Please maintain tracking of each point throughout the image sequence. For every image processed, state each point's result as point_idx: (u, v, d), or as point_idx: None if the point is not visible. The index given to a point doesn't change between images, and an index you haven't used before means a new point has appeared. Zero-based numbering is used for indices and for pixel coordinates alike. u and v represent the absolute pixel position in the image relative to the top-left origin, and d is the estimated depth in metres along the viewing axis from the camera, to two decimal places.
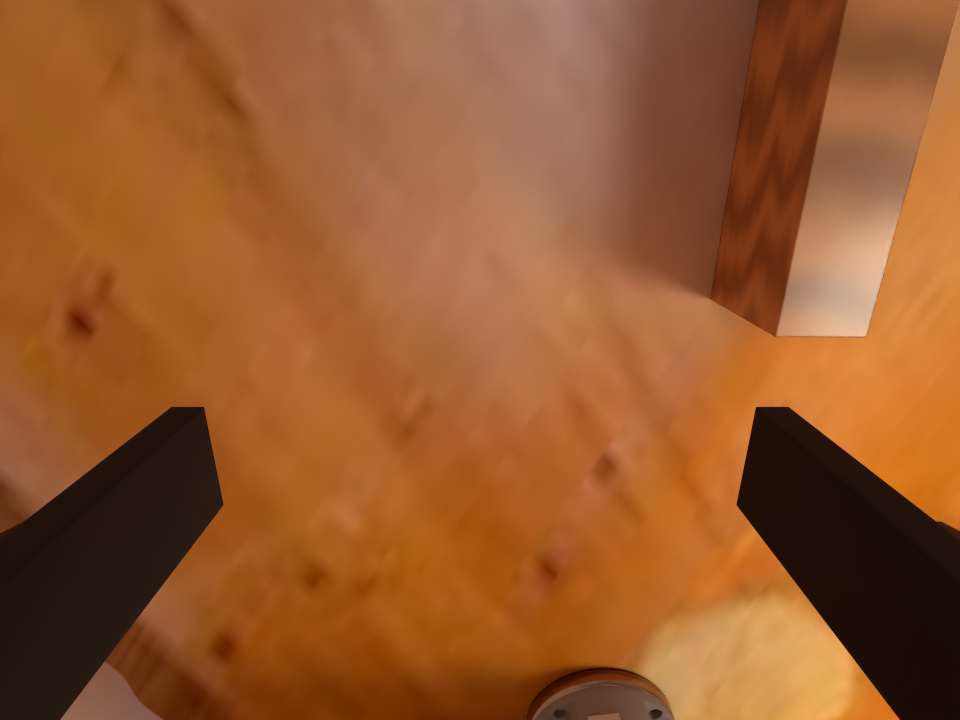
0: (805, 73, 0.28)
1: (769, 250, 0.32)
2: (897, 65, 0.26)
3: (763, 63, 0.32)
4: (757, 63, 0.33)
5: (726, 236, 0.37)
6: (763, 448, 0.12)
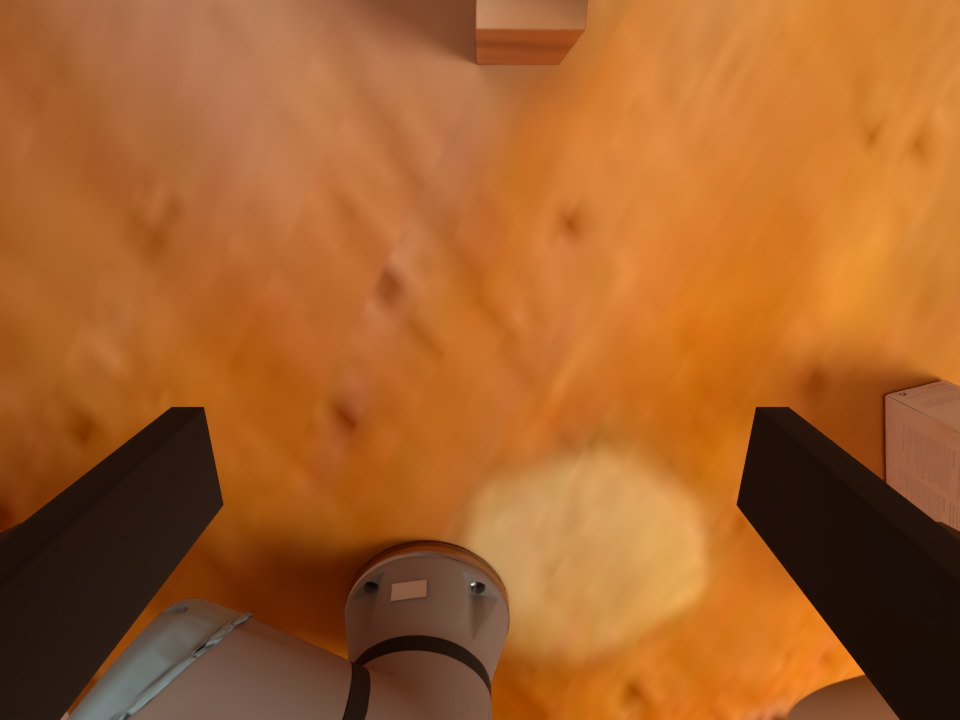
0: None
1: None
2: None
3: None
4: None
5: None
6: (763, 448, 0.12)
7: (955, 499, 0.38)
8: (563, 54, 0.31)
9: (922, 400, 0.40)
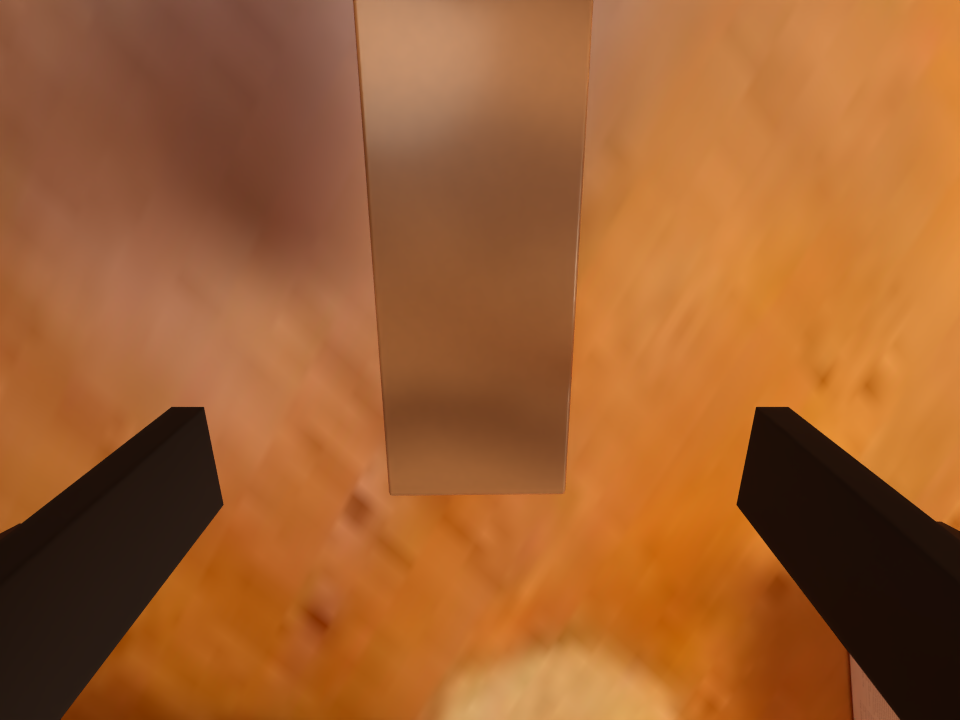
0: None
1: None
2: None
3: None
4: None
5: None
6: (763, 448, 0.12)
7: None
8: None
9: None
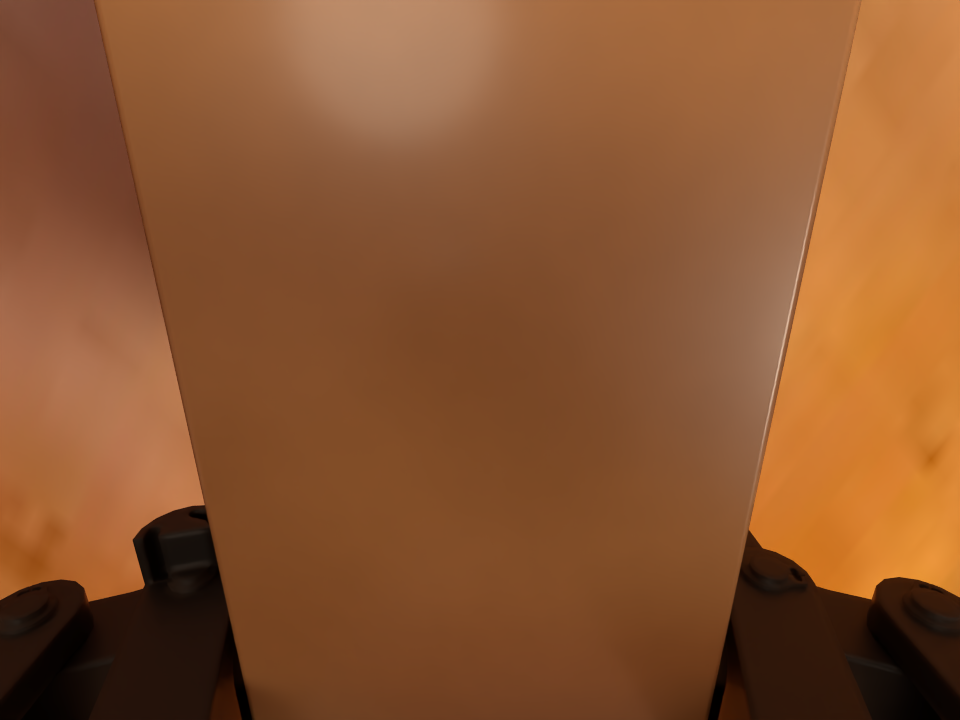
0: None
1: None
2: None
3: None
4: None
5: None
6: None
7: None
8: None
9: None
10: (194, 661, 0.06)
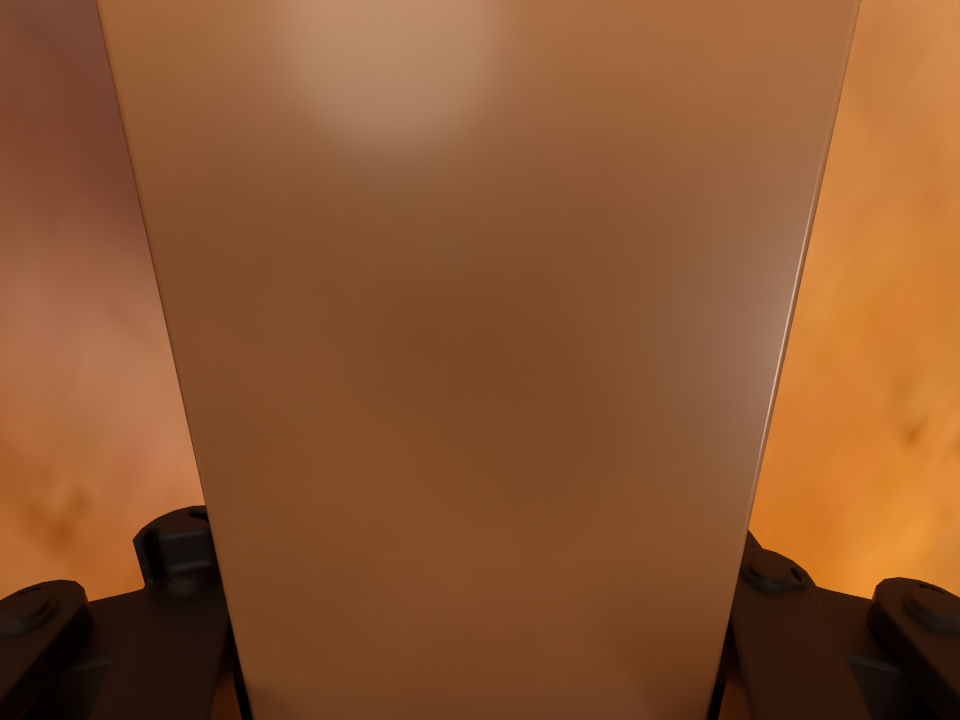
0: None
1: None
2: None
3: None
4: None
5: None
6: None
7: None
8: None
9: None
10: (194, 661, 0.06)
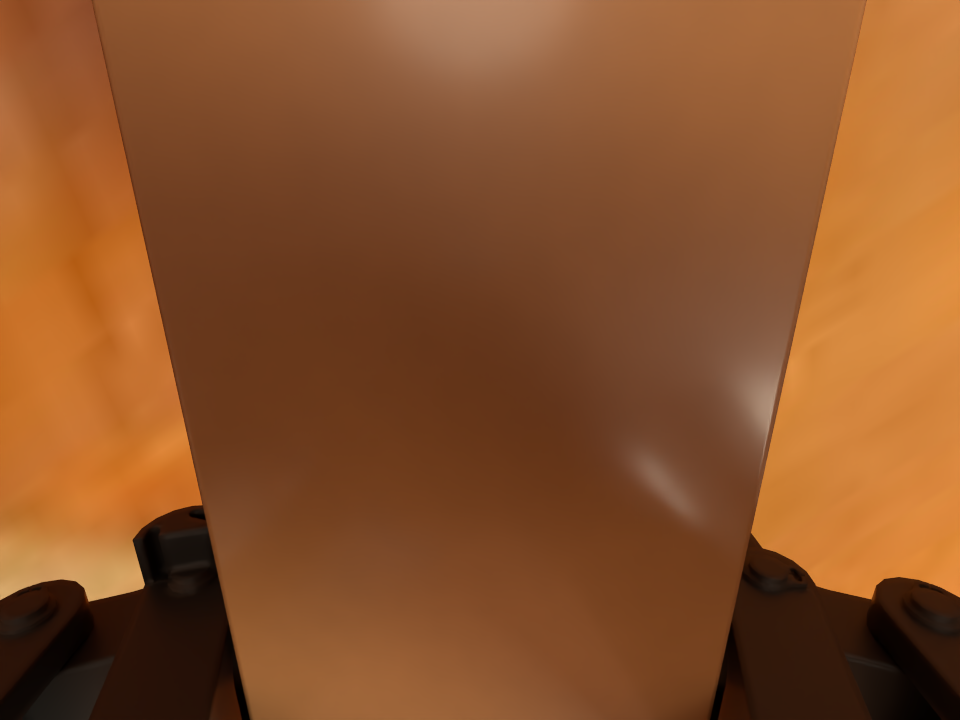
0: None
1: None
2: None
3: None
4: None
5: None
6: None
7: None
8: None
9: None
10: (194, 661, 0.06)
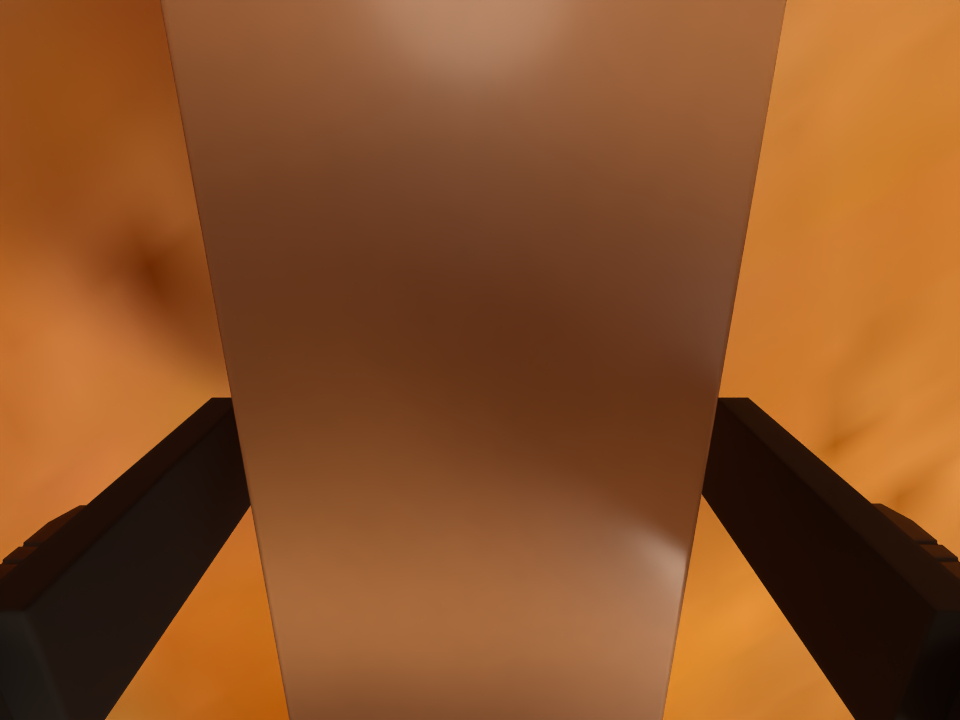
0: None
1: None
2: None
3: None
4: None
5: None
6: (723, 437, 0.12)
7: None
8: None
9: None
10: None
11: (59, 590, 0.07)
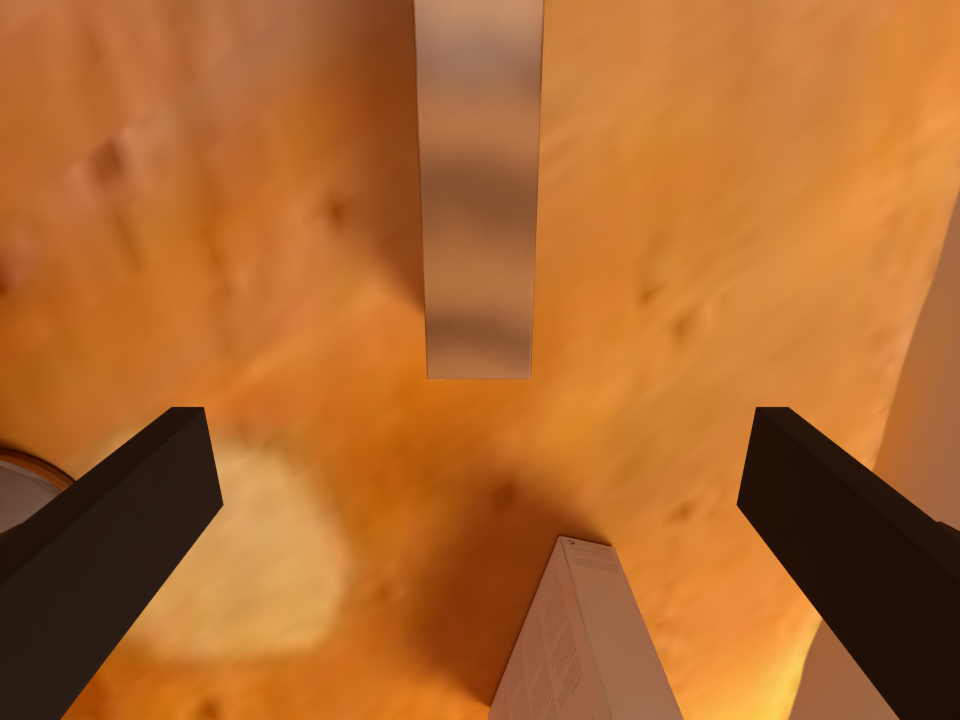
0: None
1: None
2: (489, 75, 0.23)
3: None
4: None
5: None
6: (763, 448, 0.12)
7: (550, 659, 0.37)
8: None
9: (580, 555, 0.40)
10: None
11: None
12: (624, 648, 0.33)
